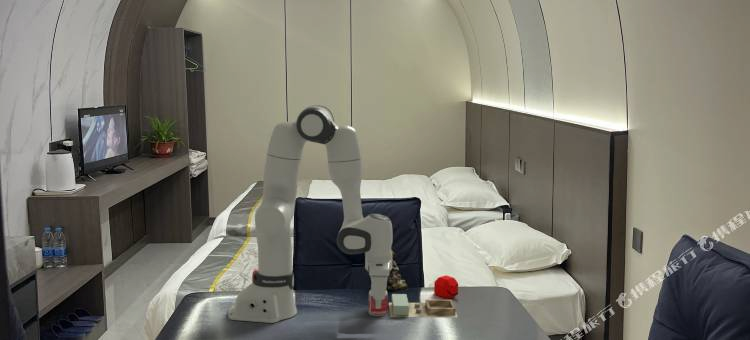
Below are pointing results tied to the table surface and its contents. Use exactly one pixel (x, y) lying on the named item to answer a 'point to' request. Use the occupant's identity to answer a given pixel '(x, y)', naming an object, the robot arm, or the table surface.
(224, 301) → the table surface
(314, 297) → the table surface
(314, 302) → the table surface
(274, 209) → the robot arm
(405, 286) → the figurine
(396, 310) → the housing cover
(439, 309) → the base
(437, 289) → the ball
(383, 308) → the pill bottle
